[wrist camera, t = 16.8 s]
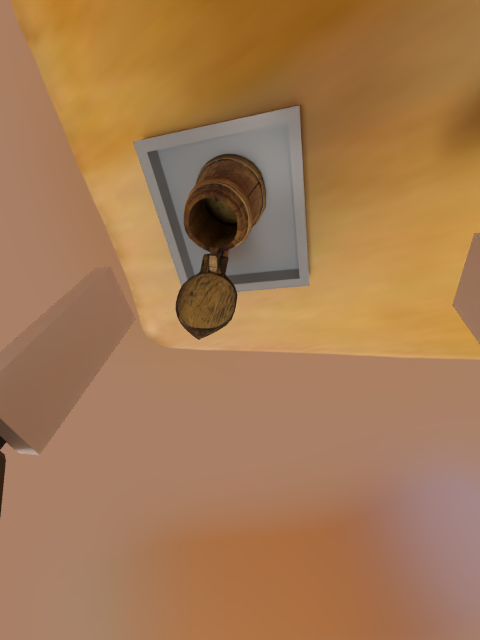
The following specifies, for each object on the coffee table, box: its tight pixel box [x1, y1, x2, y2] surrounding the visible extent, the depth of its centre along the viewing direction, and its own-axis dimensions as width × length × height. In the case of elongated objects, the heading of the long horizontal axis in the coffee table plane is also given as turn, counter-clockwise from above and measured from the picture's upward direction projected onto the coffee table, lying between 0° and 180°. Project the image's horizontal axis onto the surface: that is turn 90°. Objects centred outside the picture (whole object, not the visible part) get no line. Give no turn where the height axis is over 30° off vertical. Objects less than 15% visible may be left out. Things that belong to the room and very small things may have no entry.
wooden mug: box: [176, 154, 266, 340], centre depth 32 cm, size 9×14×18 cm, turn 178°
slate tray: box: [133, 105, 309, 292], centre depth 38 cm, size 20×18×4 cm
